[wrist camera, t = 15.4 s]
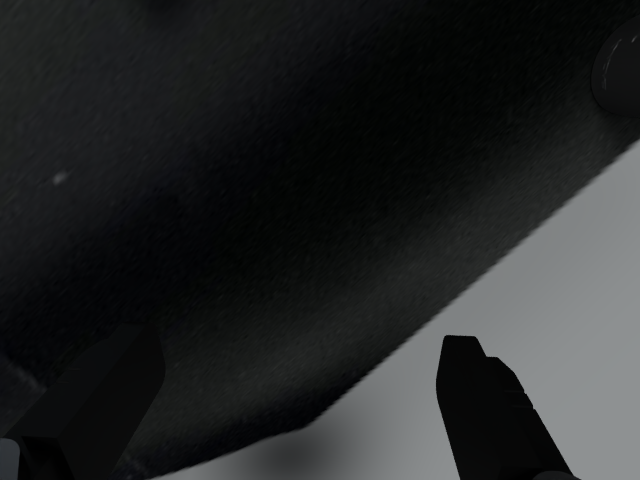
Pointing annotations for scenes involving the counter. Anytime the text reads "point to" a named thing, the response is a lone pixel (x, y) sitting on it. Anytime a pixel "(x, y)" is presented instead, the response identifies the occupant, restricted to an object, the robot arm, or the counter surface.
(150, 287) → the counter surface
